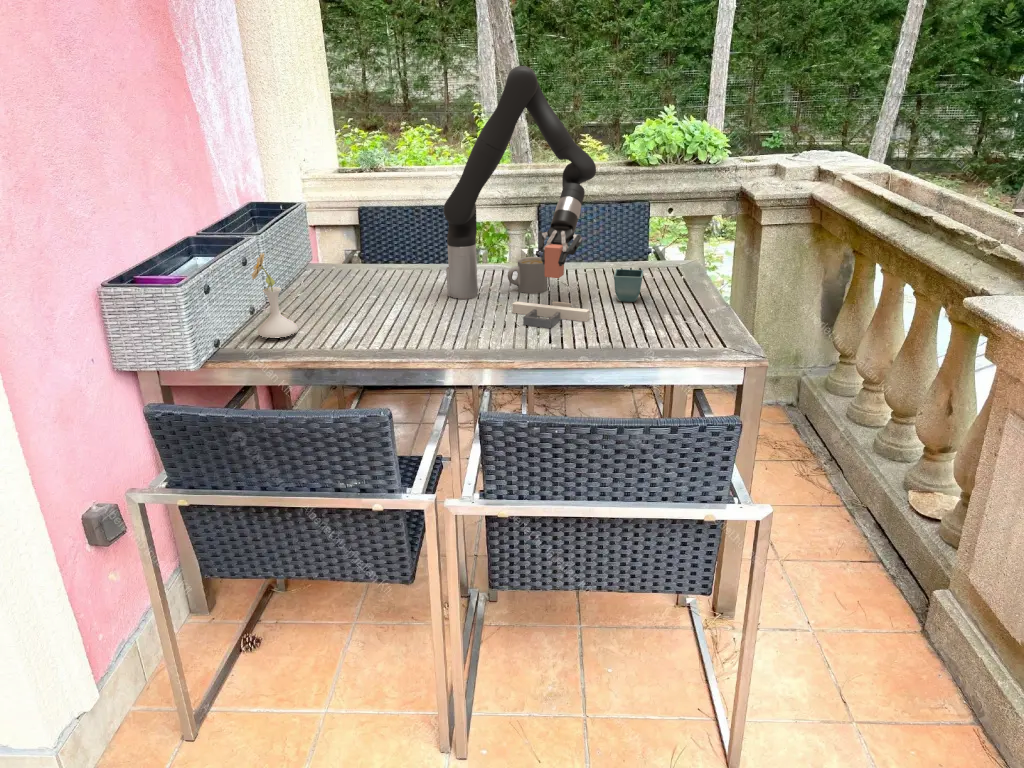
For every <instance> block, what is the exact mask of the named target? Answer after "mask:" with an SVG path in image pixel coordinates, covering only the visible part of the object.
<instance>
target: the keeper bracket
mask: <svg viewBox="0 0 1024 768" xmlns="http://www.w3.org/2000/svg"><path fill="white" fill-rule="evenodd" d="M522 320H523V323H522V325H523V326H526V325H527V326H528V327H534V328H535V327H536V328H542V327H543V329H544V328H545V329H552V328H553V327H554V326H556V325H557V324H558V323H559V322H560V321H561V319H560V312H556V313H555V314H554V315H553V316H551V317H548V318H546V317H538V316H537V310H535V309H534V310H532V311H531V312H529V313H528V314H527V315H524V316H523V317H522Z"/></svg>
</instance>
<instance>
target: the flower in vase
mask: <svg viewBox="0 0 1024 768" xmlns="http://www.w3.org/2000/svg"><path fill="white" fill-rule="evenodd" d="M264 259H265V253H264V252H260V254H259V257H257V258H256V265H254V266H253V267H252V268H253V272H252V273H251V274H250V275H251V278H252V280H255V279H257V277H258V275H259V274H260V271H261V270H263V272H265V275H266V276H267V277H266V278H265V282H266V284H267V287H266V288H264V289H262V292H263V293H264V294H265V296H266V298H267V299H268V302H269V307H270V314H269V316H268V318H266V320H265V321H263V323H262V324H261V325H260V326H259V327H258V328H257V330H256V331H257V332H256V333H257V336H259V335H260V336H262V337H261V338H263V337H271V338H275V337H285V336H288V335H291V334H293V333H295V332H296V333H297V332H298V330H299V327H298V325H297V324H296V323H295V322H294V321H292V320H290V319H289V318H287V317H286V316H283V315H282V314H281V312H280V307H279V294H280V292H281V290H282V288H281V287H278V286H274V285H275V283H276V281H275V279H273V277H271V275H270V274H269V273H268V272H267V270H266V269H265V268H264V267H263V264H264ZM273 286H274V287H273ZM296 333H295V334H296ZM293 335H294V334H293ZM260 336H259V337H260ZM291 336H292V335H291ZM285 338H286V337H285Z"/></svg>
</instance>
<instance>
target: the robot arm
mask: <svg viewBox="0 0 1024 768" xmlns="http://www.w3.org/2000/svg"><path fill="white" fill-rule="evenodd" d="M525 109H526V110H527V111H528V113H529V114H530V116H531V117H532V119H533V120H534V122H535V124H536V125H537V127H538V129H539V131H540V133H541V135H542V136H543V138H544V140H545V142H546V143H547V144H548V146H549V148H550V149H551V151H552V152H553V153H554V155H555V157H556V158H557V159H558V160H559V161H560V160H561V161H562V160H563V161H564V160H567V161H569V162H570V163H567V165H566V166H565V167H564V169H563V172H562V179H561V181H562V182H561V183H562V186H561V187H562V190H561V193H560V196H559V200H558V202H557V204H556V207H555V211H554V213H553V217H552V220H551V223H550V227H549V229H548V230H547V231H545V232H543V231H541V230H540V231H538V233H537V235H538V239H537V240H538V248H539V250H540V253H542V255H541V260H542V262H543V264H544V265H545V247H546V246H548V245H551V244H556V245H562V246H563V248H562V252H561V255H560V258H559V261H558V264H559V266H562V265H564V266H565V263H566V260H567V257H568V256H569V255H571V256H573V255H575V253H576V251H577V250H578V249H579V247H580V245H581V244H582V242H583V238H582V235H581V234H580V233H578V234H576V233H575V231H576V228H577V227H578V226H577V225H578V222H579V219H580V215H581V209H582V205H583V202H584V198H585V195H586V194H585V193H586V191H585V189H584V187H583V186H582V185H581V184H583V183H585V182H588V181H590V180H591V179H593V178H594V177H595V175H596V173H597V166H596V163H595V161H594V160H593V157H591V156H590V155H589V154H588V153H587V152H586V151H584V150H583V148H582V147H581V146H579V145H578V144H577V143H576V142H575V141H574V138H573V137H572V135H571V134H570V133H569V131H568V129H567V128H566V126H565V125H564V124H563V122H562V121H561V120H560V118H559V117H558V115H557V114H556V113H555V111H554V110H553V108H552V106H550V104H549V102H548V100H547V98H546V97H545V95H544V93H543V90H542V88H541V87H540V84H539V82H538V77H537V74H536V73H535V71H534V70H533V69H532V68H531V67H529V66H527V65H518V66H515V67H513V68H512V69H511V70H510V71H509V72H508V75H507V77H506V82H505V85H504V89H503V91H502V94H501V96H500V98H499V101H498V103H497V106H496V108H495V109H494V111H493V113H491V115H490V117H489V118H488V120H487V121H486V122H485V124H484V126H483V128H482V129H481V131H480V133H479V135H478V137H477V138H476V140H475V142H474V144H473V147H472V149H471V151H470V153H469V156H468V158H467V161H466V163H465V165H464V169H463V170H462V171H463V172H462V174H461V177H460V178H459V180H458V182H457V183H456V186H455V187H454V189H453V191H452V192H451V193H450V195H449V196H448V198H447V199H446V201H445V203H444V206H443V215H444V217H445V220H446V221H447V222H448V227H447V228H448V230H447V236H446V241H447V258H448V259H447V260H448V261H447V262H448V267H446V269H445V271H446V272H445V274H446V289H447V297H450V296H451V298H452V297H453V299H456V298H458V300H467V299H474V298H476V297H477V296H478V293H479V289H478V266H477V265H478V263H477V261H478V260H477V259H478V258H477V240H476V239H477V233H478V232H477V231H478V230H477V229H478V228H477V227H478V226H477V224H478V223H477V206H476V203H477V200H478V199H479V195H480V193H481V191H482V189H483V188H484V187H485V186H486V183H487V182H488V181H489V180H490V178H491V176H492V175H493V174H494V173H495V171H496V169H497V167H498V166H499V164H500V162H501V160H502V158H503V156H504V155H505V152H506V150H507V148H508V146H509V144H510V142H511V139H512V136H513V135H514V131H515V129H516V126H517V123H518V121H519V119H520V117H521V116H522V114H523V112H524V110H525ZM547 237H548V239H547ZM546 240H547V241H546ZM545 241H546V244H545ZM571 241H572V242H571ZM570 242H571V244H570V245H569V243H570Z"/></svg>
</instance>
